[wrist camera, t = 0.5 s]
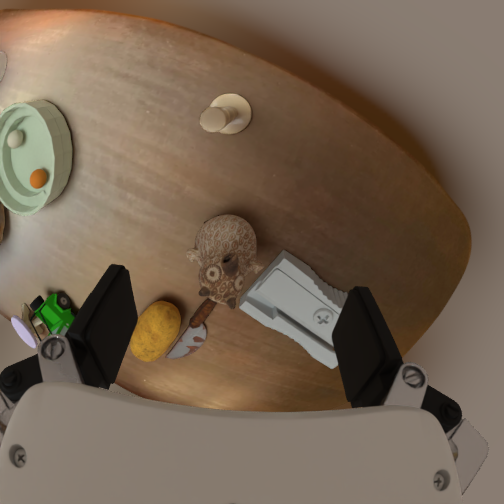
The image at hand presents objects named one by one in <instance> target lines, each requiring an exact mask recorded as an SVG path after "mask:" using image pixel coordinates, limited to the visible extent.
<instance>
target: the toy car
mask: <svg viewBox="0 0 504 504" xmlns="http://www.w3.org/2000/svg"><path fill="white" fill-rule="evenodd" d="M69 306H70V300H69V298H68V296H67V295H66V294H64V293H60V294H58V295H57V293H56V294H55V295H54V293H53V294H52V295H51V296H49V297H48V298H47V300H46V301H45V302H44V300H43V298H42V297H41V296H40V295H39V296H38V297H37V298H36V299H35V300H34V301H33V302H32V303H31V304H30V307H31V308H32V309H33V311H35V312H34V314H33V316H32V317H31V319H30V322H31V324H32V326H33V328H34V330H35V332H36V334H37V336H38V338H39V340H40V341H42V340H41V338H40V337H39V335H38V333H37V331H36V329H35V327H34V325H33V323H32V321H31V320H32V319H33V317H34V316H35V315H36V316H37V317H38V318H39V319H40V320H41V321H42V322H43V323H44V324H45V325H46V326H47V328H48V330H49V332H50V333H49V335H52V334H61V335H63V336H64V335H65V334H66V332H67V330H68V328H69V327H70V325H71V323H72V322H73V320H74V318H75V317H76V315H75V314H74V313H73V312H71V311H70V310H71V308H70V309H68V308H69ZM49 335H48V336H49Z"/></svg>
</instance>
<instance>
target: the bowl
mask: <svg viewBox="0 0 504 504" xmlns="http://www.w3.org/2000/svg"><path fill="white" fill-rule="evenodd" d="M14 130H20V131H21V132H22V133H23V142H22V144H21V145H20V146H19V147H18V148H15V149H13V148H10V147H9V146H8V143H7V139H8V136H9V134H10V133H11V132H12V131H14ZM72 151H73V150H72V143H71V136H70V131H69V129H68V126H67V124H66V121H65V119H64V117H63V115H62V114H61V113H60V111H59V110H58V109H57V108H56V107H55V106H54V105H53V104H51V103H49V102H47V101H45V100H31V101H25V102H19V103H14V104H12V105H11V106H9V107H8V108H6V109H4V110H3V112H2V113H1V114H0V201H1V202H2V203H3V205H4V206H5V207H6V208H8V209H9V210H10V211H11V212H13V213H15V214H18V215H21V216H28V215H33V214H35V213H36V212H38V211H39V210H41V209H42V208H43V207H45V206H46V205H48V204H49V203H50V202H52V201H53V200H54V199H56V198H57V197H58V196H59V195H60V194H61V192H62V190H63V189H64V187H65V186H66V184H67V181H68V178H69V174H70V171H71V166H72ZM36 169H42V170H43V171H45V173H46V176H47V180H46V183H45V185H44V186H43V187H41V188H39V189H35V188H33V187H32V186H31V184H30V176H31V174H32V172H33V171H35V170H36Z"/></svg>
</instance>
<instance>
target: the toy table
mask: <svg viewBox="0 0 504 504" xmlns="http://www.w3.org/2000/svg"><path fill="white" fill-rule="evenodd" d="M29 312H30V311H29V309H28V307H27V306H26V304H23V305H22V319H20V318H19V317H18V316H16V315H14V316H13V317H12V318H11V321H12V324H13V326H14V328H15V330H16V332H17V333H18V334H19V336H20V337H21V338H22V339H23V340H24V342H25V343H26V344H28V345H29V346H30V347H32V348H35V347H36V346H37V340H36V338H35V336H34V333H36V332H35V330H34V328H33V326H32V324H31V322H30V321H29V317H28V315H29ZM32 323H33V325H34V327H35V329H36V331H37V333H40V334H41V333H42V332H43V330H42V328H41V327H40V326H39V324H41V323H43V322H42V321H41V320H40V319H39V318H38V317H36V319H35V320H33V321H32Z"/></svg>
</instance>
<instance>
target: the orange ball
mask: <svg viewBox="0 0 504 504" xmlns="http://www.w3.org/2000/svg"><path fill="white" fill-rule="evenodd" d="M46 180H47V176H46V173H45V171H43V170H42V169H36V170H35V171H33V172H32V174H31V176H30V184H31V186H32V187H33V188H35V189H39V188H41V187H43V186H44V185H45V183H46Z"/></svg>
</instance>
